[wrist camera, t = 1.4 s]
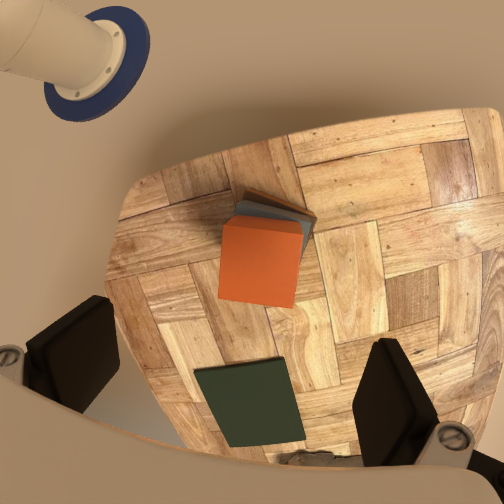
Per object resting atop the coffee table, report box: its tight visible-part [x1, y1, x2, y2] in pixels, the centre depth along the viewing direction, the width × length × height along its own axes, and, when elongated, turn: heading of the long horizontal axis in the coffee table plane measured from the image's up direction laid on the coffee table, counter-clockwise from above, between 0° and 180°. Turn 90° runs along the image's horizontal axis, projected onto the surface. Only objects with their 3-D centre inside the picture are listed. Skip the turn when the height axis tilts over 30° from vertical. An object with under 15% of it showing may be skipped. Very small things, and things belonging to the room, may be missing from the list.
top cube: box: [218, 215, 304, 308], centre depth 22 cm, size 5×5×5 cm
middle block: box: [234, 199, 311, 265], centre depth 26 cm, size 6×6×4 cm
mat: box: [193, 357, 306, 447], centre depth 38 cm, size 16×12×1 cm
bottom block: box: [242, 188, 317, 250], centre depth 30 cm, size 7×7×4 cm
